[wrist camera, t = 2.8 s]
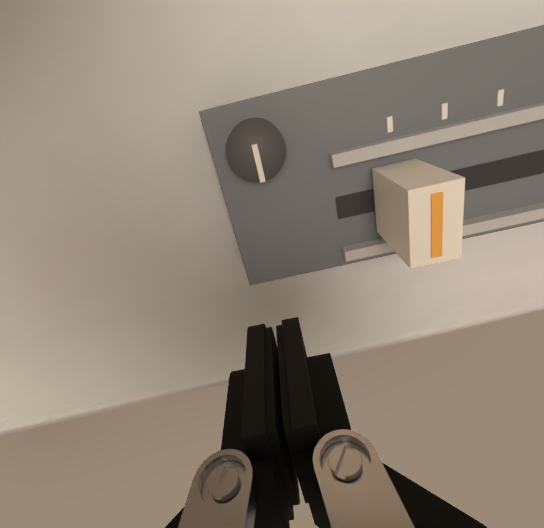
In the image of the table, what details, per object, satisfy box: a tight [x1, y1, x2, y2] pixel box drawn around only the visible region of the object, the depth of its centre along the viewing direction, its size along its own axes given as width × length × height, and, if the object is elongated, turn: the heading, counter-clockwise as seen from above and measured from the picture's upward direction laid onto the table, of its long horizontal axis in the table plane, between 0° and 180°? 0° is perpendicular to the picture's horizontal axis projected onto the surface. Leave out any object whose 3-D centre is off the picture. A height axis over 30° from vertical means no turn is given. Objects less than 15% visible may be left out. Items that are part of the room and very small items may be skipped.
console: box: [199, 25, 544, 285], centre depth 20 cm, size 11×32×4 cm, turn 103°
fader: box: [372, 159, 465, 269], centre depth 17 cm, size 4×2×5 cm, turn 13°
